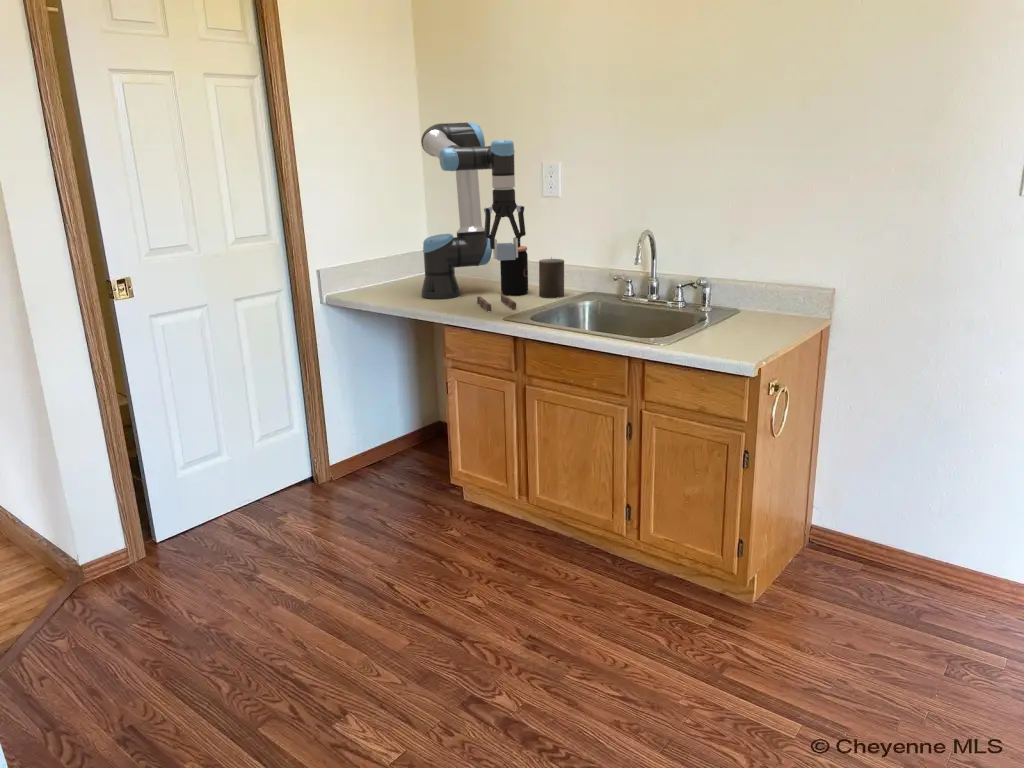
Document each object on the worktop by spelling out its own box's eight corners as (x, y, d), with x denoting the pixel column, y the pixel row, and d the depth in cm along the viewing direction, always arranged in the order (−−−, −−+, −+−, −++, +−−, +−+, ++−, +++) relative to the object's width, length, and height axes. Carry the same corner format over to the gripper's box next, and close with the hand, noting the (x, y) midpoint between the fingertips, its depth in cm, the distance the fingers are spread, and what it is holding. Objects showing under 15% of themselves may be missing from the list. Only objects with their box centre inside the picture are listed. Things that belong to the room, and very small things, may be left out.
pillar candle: (555, 299, 298) (555, 259, 293) (534, 296, 303) (533, 257, 299) (569, 295, 305) (569, 256, 301) (548, 292, 311) (548, 254, 306)
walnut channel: (477, 303, 295) (477, 296, 294) (504, 300, 297) (503, 294, 297) (488, 312, 280) (488, 305, 279) (516, 309, 283) (516, 302, 282)
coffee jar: (529, 295, 306) (528, 249, 300) (502, 296, 305) (500, 250, 299) (527, 290, 316) (526, 245, 310) (500, 291, 315) (499, 246, 309)
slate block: (495, 256, 275) (494, 243, 273) (512, 255, 275) (512, 242, 274) (497, 260, 266) (497, 247, 265) (515, 259, 267) (515, 246, 265)
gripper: (528, 186, 268) (529, 254, 275) (472, 189, 263) (475, 258, 270) (535, 188, 261) (536, 257, 268) (478, 190, 256) (480, 261, 263)
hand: (505, 257), depth 269 cm, fingers closed on slate block, 7 cm apart
